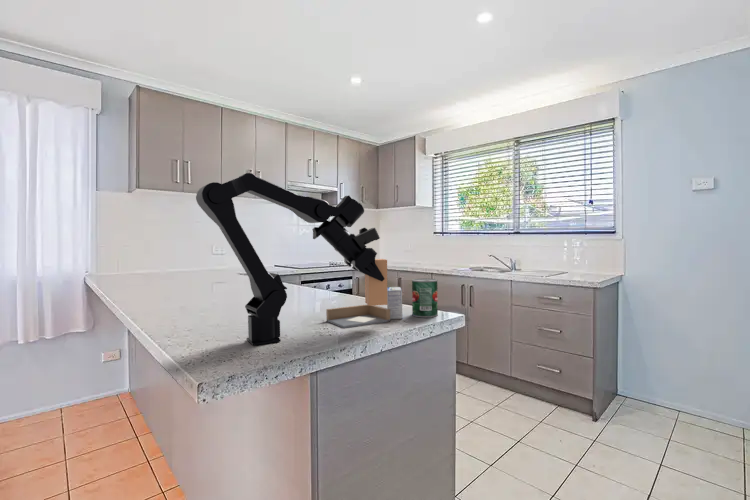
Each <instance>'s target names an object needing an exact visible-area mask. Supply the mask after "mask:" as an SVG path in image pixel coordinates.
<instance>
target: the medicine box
mask: <svg viewBox="0 0 750 500" xmlns="http://www.w3.org/2000/svg"><path fill="white" fill-rule="evenodd" d="M386 306H387V307H386V308H387V309H390V320H402V319H403V291H402V288H401V286H390V287H387V305H386Z"/></svg>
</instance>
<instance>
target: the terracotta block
mask: <svg viewBox="0 0 750 500" xmlns="http://www.w3.org/2000/svg"><path fill="white" fill-rule="evenodd" d="M375 264H376V265H377V267H378V269H379V270H380V272H381V273H382V275H383V277H384V278H385V279H384V280H383V281H380V280H377V279H375V278H373V277H371V276H368V275H366V274H364V284H365V285H364V290H365V291H364V294H365V295H364V299H365V301H364V302H365V305H367V304H368V305H369V306H372V305H376V306H387V288H388V259H387V258H385V259H384V258H375Z"/></svg>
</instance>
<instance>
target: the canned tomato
mask: <svg viewBox="0 0 750 500" xmlns="http://www.w3.org/2000/svg"><path fill="white" fill-rule="evenodd" d="M411 294H412V295H411V307H412V309H411V311H412V312H411V313H412V314H411V315H412V317H416V318H434V317H435V318H436V317H437V316H438V315H439V314H438V311H439V310H438V306H439V303H438V302H439V300H438V297H439V296H438V294H439V293H438V279H436V278H413V279H411Z"/></svg>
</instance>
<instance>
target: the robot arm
mask: <svg viewBox="0 0 750 500" xmlns="http://www.w3.org/2000/svg"><path fill="white" fill-rule="evenodd" d="M244 193H248V194H251V195H253V196H255V197H258V198H260V199H263V200H266V201H267V202H270V203H272V204H274V205H277V206H280V207H283V208H284V209H285V208H286V209H288V210H289V211H291V212H292V213H294V214H295V215H296V216H297V217H299V218H300V219H301V220H303V221H304V222H307V223H308V224H318V223H321V224H320V225H319V226H317V227H316V226H314V227H313V228H312V239H313V240H316V239H317V238H319V237H320V236H321V237H322V238H323V239H324V240H325V241H327V243H328V244H329V245H330V246H331V247H332V248H333V249H334V250H335V251H336V252H337V253H338V254H340V255H341V256H342V257H343V259H344V260H343V261H344V262H343V263H345V264H346V265H347V266H348V267H349V268H351V267H352V268H351V269H353V270H355V271H357V272H359V273H362V274H363V275H365V274H366V275H368V276H371V277H373V278H375V279H377V280H380V281H383V280H384V279H385V278H384V277H383V275H382V273H381V272H380V270H379V269H378V267H377V265H376V264H375V259H376V257H377V255H378V252H376V250H375V249H373V247H367V245H368V244H370V243H372V242H374V241H378V240H380V239H381V237H380V235H379V233H378V231H377V229H376V227H372V228H369V229H368V228H366V227H363V228H361V229H359V230H358V231H359V234H357V235H355V234H354V233H350V232H349V231H348V230H347V229H346V227H347V228H352V226H353V225H354V224H355V223H356V222H357V221H358V220H359V219H360V218H361V217H362V216H363V215H364V213H365V208H364V206H363V205H362V203H359V202H358V201H357V200H356V199H354V198H352V196H350V195H345V196H343V197H342V198H341V200H340V202H339V203H337V204H336V205H335V206H334V205H330V203H329V202H328V201H326V200H325V199H321V198H317V197H312V196H306V195H300V194H298V193H295V192H293V191H291V190H288V189H286V188H284V187H281V186H279V185H277V184H275V183H273V182H270V181H268V180H266V179H263V178H260V177H258V176H256V174H254V173H251V172H246V173H244V174H242V175H240V176H238V177H237V178H234V179H233V178H232V179H231V180H229V181H228V180H227V181H226V182H223V183H220V182H217V181H216V182H210V183H207V184H205V185H203V186H202V187H200V188H199V189H198V191H197V192H196V196H195V200H196V202H197V204H198V207H200V209H201V210H202V211H203V212H204V213H205V214H206V216H207V217H209V219H210V220H211V221H212V222H214V223H215V224H216V225H217V227H219V229H220V230H221V231H220V232H221V233H222V235H223V236H224V238H225V239H226V241H227V243H228V244H229V246H230V248H231V249H232V251H233V253H234V254H235V257H236V258H237V259H238V261H239V264H240V265H241V267H242V268H243V270H244V271H245V273H246V275H247V277H248V279H249V284H250V289H251V292H252V295H253V297H252V298H251V299H250V300H249V301H248V302H247V303H246V304H245V307H244V308H245V310H246V312H247V315H248V314H249V315H248V316H247V321H248V322H247V325H248V326H247V327H248V331H247V332H248V335H247V336H248V337H246V341H247V342H249V343H250V345H252V346H259V345H266V344H271V343H278V342H281V338H280V337H281V320H280V319H278V317H280V314H281V310H282V308H283V307H284V305H285V303H286V302H287V298H288V294H287V291H286V290H287V289H288V287H286V286H285V285H284V283H283V282H282V278H281V276H280V274H278V273H272V272H269V271H267V268H266V267H265V265H264V263H263V261H262V260H261V258H260V256H259V254H258V253H257V252H256V249H255V248H254V246H253V244H252V243H251V241H250V239H249V237H248V235H247V234H246V232H245V230H244V229H243V227H242V225H241V224H240V222H239V220H238V218H237V215H236V209H235V204H234V201H233V198H236V197H239V196H241V195H243V194H244ZM331 217H332V218H331ZM330 218H331V219H330ZM329 219H330V220H329Z"/></svg>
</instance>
